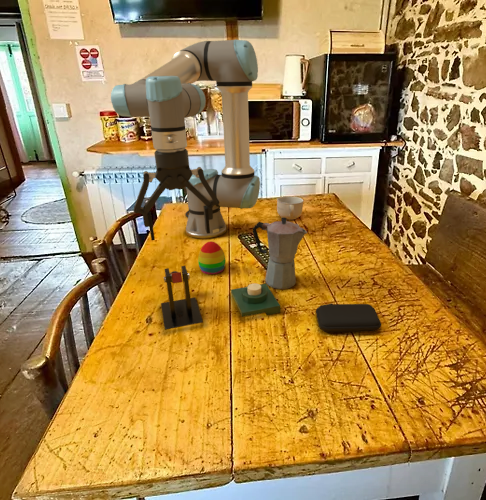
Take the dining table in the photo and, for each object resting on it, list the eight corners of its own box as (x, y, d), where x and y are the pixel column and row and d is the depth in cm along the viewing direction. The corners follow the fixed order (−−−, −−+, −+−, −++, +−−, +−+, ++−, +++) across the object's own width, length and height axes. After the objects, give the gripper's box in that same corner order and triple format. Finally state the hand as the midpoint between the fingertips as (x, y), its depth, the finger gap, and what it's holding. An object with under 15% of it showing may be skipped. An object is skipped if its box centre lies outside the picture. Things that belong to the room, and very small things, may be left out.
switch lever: (169, 283, 106) (167, 272, 106) (181, 281, 107) (179, 270, 107) (171, 285, 93) (169, 272, 93) (184, 283, 94) (182, 270, 94)
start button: (246, 290, 104) (245, 284, 103) (259, 288, 105) (258, 282, 104) (249, 297, 101) (249, 291, 100) (263, 294, 102) (263, 288, 101)
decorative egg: (231, 272, 121) (229, 242, 116) (208, 281, 116) (205, 250, 112) (217, 263, 126) (215, 234, 122) (194, 271, 122) (191, 241, 118)
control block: (231, 296, 108) (230, 283, 106) (266, 290, 111) (265, 277, 109) (242, 320, 98) (241, 306, 96) (280, 312, 100) (280, 299, 99)
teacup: (278, 212, 170) (278, 194, 167) (303, 213, 169) (304, 195, 166) (274, 224, 158) (274, 205, 154) (301, 225, 156) (302, 205, 153)
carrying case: (371, 308, 101) (314, 310, 101) (372, 298, 100) (314, 299, 100) (382, 334, 92) (319, 335, 92) (384, 323, 90) (319, 324, 90)
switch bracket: (161, 306, 104) (154, 263, 98) (195, 300, 106) (191, 257, 101) (165, 333, 93) (158, 286, 88) (203, 325, 96) (198, 279, 90)
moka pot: (303, 293, 109) (305, 225, 101) (249, 288, 112) (246, 221, 104) (307, 276, 118) (309, 213, 109) (257, 272, 120) (255, 210, 112)
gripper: (112, 156, 84) (128, 247, 93) (227, 148, 91) (232, 234, 99) (114, 150, 91) (129, 235, 99) (221, 143, 97) (226, 224, 106)
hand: (180, 235), depth 99 cm, fingers open, 13 cm apart
